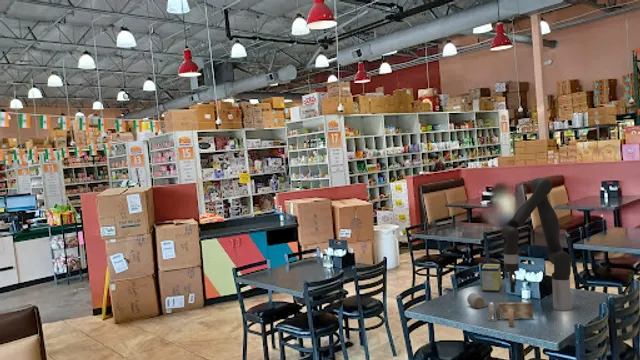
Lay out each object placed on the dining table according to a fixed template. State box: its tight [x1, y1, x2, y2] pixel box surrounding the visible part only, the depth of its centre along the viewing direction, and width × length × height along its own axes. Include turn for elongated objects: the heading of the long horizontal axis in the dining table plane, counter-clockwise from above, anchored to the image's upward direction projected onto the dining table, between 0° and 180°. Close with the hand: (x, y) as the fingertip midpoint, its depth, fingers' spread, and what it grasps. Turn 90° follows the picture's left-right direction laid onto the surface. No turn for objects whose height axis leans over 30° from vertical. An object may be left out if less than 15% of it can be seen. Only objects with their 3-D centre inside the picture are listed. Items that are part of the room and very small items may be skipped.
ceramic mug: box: [466, 292, 488, 309], centre depth 313 cm, size 11×8×8 cm
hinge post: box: [486, 301, 499, 322], centre depth 289 cm, size 5×5×10 cm
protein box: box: [481, 263, 503, 293], centre depth 348 cm, size 10×16×16 cm
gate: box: [494, 301, 534, 319], centre depth 286 cm, size 19×2×8 cm, turn 78°
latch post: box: [508, 309, 515, 328], centre depth 276 cm, size 2×2×9 cm
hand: (512, 292), depth 296 cm, fingers closed
